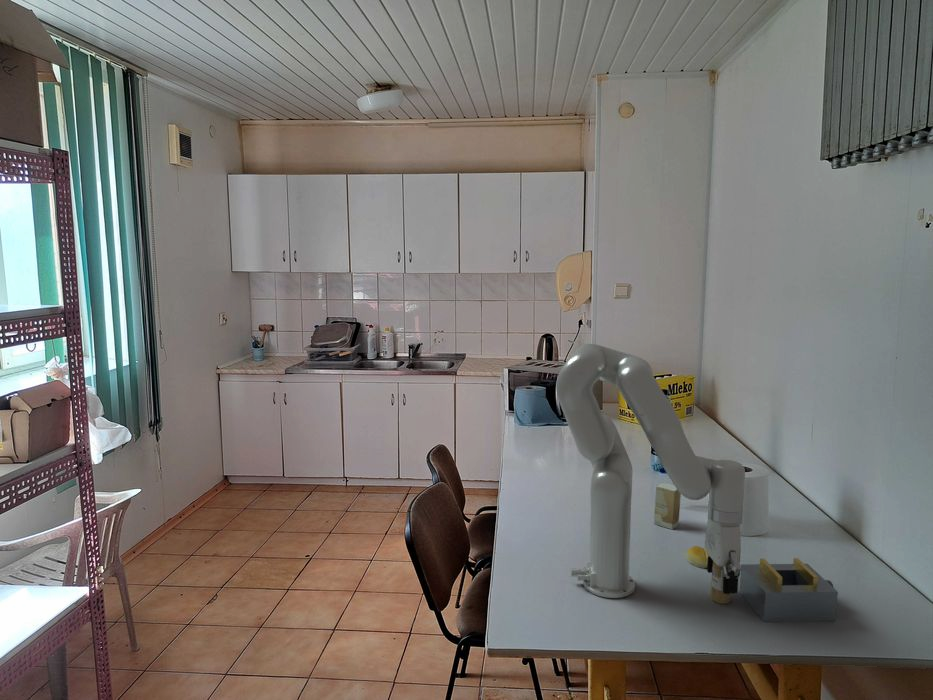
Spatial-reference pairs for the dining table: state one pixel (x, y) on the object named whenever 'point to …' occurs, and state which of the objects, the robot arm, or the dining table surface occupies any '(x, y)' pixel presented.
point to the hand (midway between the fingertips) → (721, 582)
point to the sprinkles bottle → (719, 584)
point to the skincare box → (667, 506)
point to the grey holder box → (788, 592)
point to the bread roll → (697, 556)
